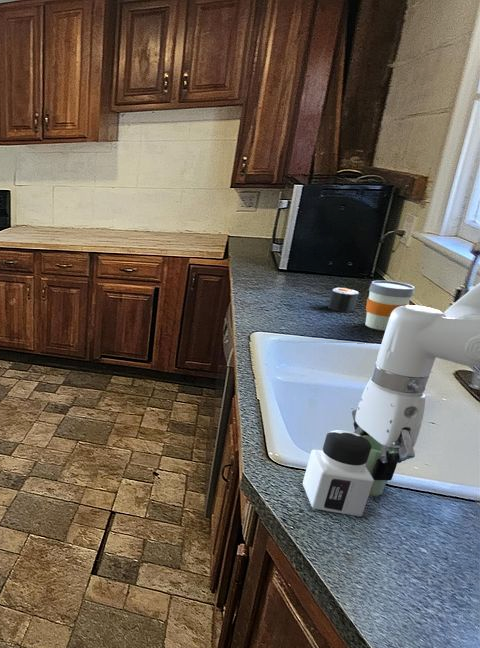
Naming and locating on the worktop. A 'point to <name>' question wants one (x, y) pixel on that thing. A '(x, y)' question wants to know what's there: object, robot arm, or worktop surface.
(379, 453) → the cup
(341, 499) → the container
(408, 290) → the reusable coffee cup
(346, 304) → the sushi
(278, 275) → the worktop surface
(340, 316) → the worktop surface
